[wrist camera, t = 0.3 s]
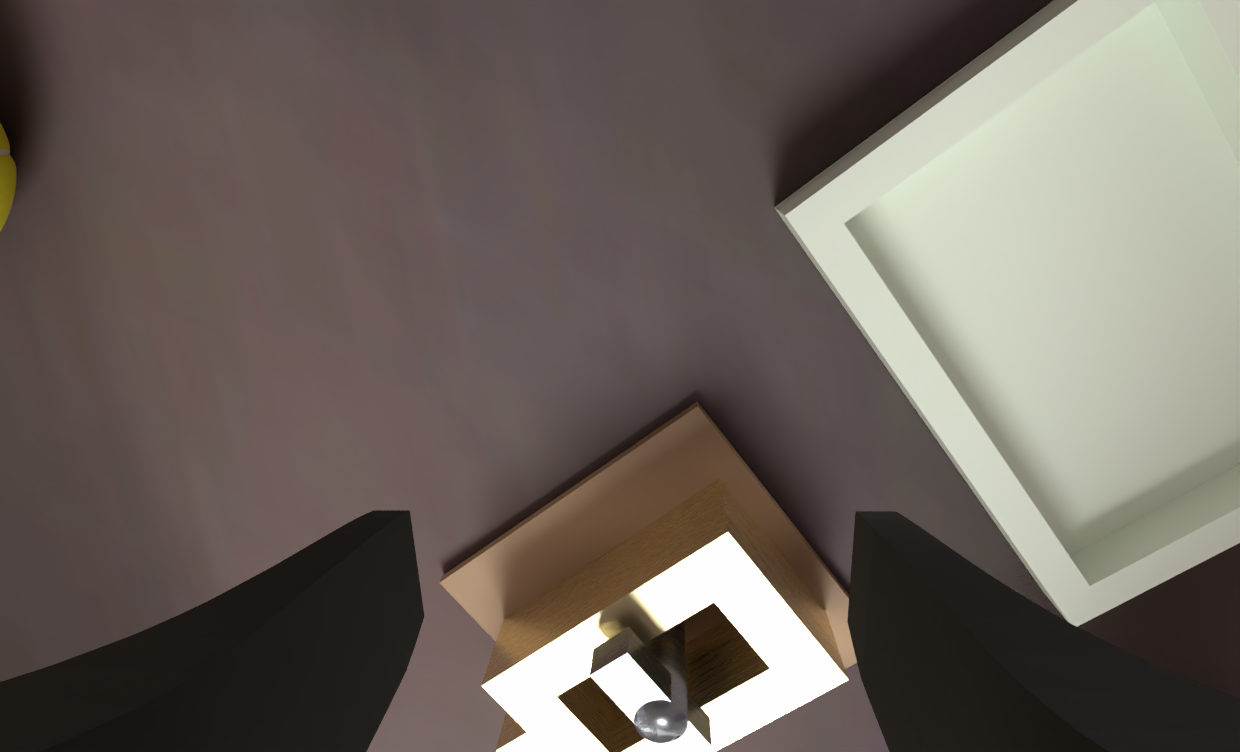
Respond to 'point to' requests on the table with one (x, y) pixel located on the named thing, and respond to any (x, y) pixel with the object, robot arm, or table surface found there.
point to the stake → (653, 688)
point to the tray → (1064, 284)
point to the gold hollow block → (651, 604)
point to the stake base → (636, 527)
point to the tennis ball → (6, 178)
